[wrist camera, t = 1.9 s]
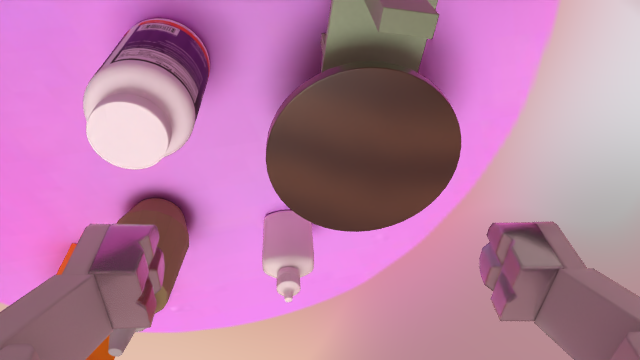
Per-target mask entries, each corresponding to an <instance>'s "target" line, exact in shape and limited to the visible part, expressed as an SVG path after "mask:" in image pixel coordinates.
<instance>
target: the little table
mask: <svg viewBox="0 0 640 360" xmlns="http://www.w3.org/2000/svg"><path fill="white" fill-rule="evenodd" d="M460 150H461V133H460V127H459V123H458V120H457V117H456V114H455V113H454V111H453V109H452V107H451V105H450V103H449V102H448V100H447V98H446V97H445V96H444V95H443V93H442V92H441V91H440V89H439V88H437V87H436V86H435V85H434V84H433V83H432V82H431V81H430V80H428V79H427V78H425V77H424V76H422V75H421V74H419V73H417V72H415V71H413V70H411V69H409V68H406V67H402V66H399V65H396V64H391V63H385V62H372V61H368V62H355V63H350V64H344V65H340V66H337V67H334V68H331V69H328V70H326V71H324V72H322V73H319V74H317V75H315V76H314V77H312V78H310V79H309V80H307V81H306V82H304V83H303V84H302V85H300V86H299V87H298V88H297V89H296V90H294V91H293V92H292V93H291V94H290V95H289V97H288V98H287V99H286V100H285V101H284V102H283V104H282V105H281V107H280V108H279V109H278V111H277V113H276V115H275V117H274V119H273V121H272V123H271V126H270V129H269V132H268V138H267V144H266V165H267V172H268V175H269V178H270V181H271V183H272V185H273V188H274V190H275V191H276V193H277V194H278V196H279V197H280V199H281V200H282V201H283V202H284V203H285V204H286V205H287V206H288V207H289V208H290V209H291V210H292V211H293V212H295V213H296V214H297V215H299V216H300V217H302V218H304V219H305V220H307V221H309V222H312V223H314V224H316V225H319V226H322V227H325V228H329V229H334V230H340V231H356V232H358V231H370V230H376V229H381V228H385V227H389V226H392V225H395V224H397V223H400V222H402V221H404V220H406V219H408V218H410V217H412V216H414V215H416V214H417V213H419V212H420V211H422V210H423V209H425V208H426V207H427V206H428V205H430V204H431V203H432V202H433V201H434V200H435V199H436V198H437V197H438V196H439V195H440V194H441V192H442V191H443V190H444V189H445V188H446V186H447V185H448V183H449V181H450V180H451V178H452V176H453V174H454V172H455V170H456V167H457V164H458V161H459V157H460Z"/></svg>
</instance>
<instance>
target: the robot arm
mask: <svg viewBox="0 0 640 360" xmlns="http://www.w3.org/2000/svg"><path fill="white" fill-rule="evenodd" d="M487 237H488V239H489V241H490V242H489V243H488V244H487V245H486V246H484V247H483V248H482V252H481V255H480V273H481V277H482V280H483V282H484V285H485V286H487V287H488V288H490V289H491V290H492V291H493V294H492V297H491V301H492V303H493V305H494V308H495V310H496V312H497V315H498V317H499V319H500V321H535V322H534V323H535V324H536V325H537V326H538V327H539V328H540V329H541V330H542V331H544V332H545V333H546V334H547V335H548V336H549V337H550V338H551V339H552V340H553V341H555V343H557V344H558V345H559V346H560V347H561V348H562V349H563V350H564V351H565V352H566V353H567V354H569V355H570V356H571V357H572V358H573V359H574V360H640V297H639V296H637V295H636V294H634V293H632V292H631V291H629V290H627V289H626V288H624V287H622V286H621V285H619V284H618V283H616V282H615V281H613V280H611V279H610V278H608V277H606V276H605V275H603V274H601V273H600V272H598V271H597V270H595V269H587V267H586V266H585V265H584V263H583V262H582V260H581V259H580V257H579V256H578V254H577V253H576V251H575V250H574V249H573V247H572V245H571V244H570V243H569V241H568V240H567V238H566V237H565V235H564V234H563V232H562V231H561V230H560V228H559V227H558V225H557V224H555V223H554V222H532V223H529V222H528V223H492V225H491V226H490V227H489V230H488V233H487ZM159 238H160V236H159V232H158V228H157V226H155V225H144V224H112V225H111V224H90V225H89V226H87V227H86V228H85V230H84V232H83V234H82V236H81V238H80V239H79V241H78V243H77V245H76V247H75V249H74V251H73V253H72V255H71V257H70V259H69V261H68V263H67V265H66V267H65V269H64V271H63V273H62V275H54V276H52V277H51V278H49V279H48V280H47V281H45V282H44V283H42V284H41V285H39V286H38V287H36V288H35V289H33V290H32V291H30V292H29V293H28V294H26V295H25V296H23V297H22V298H20V299H19V300H17V301H16V302H14V303H13V304H11V305H10V306H9V307H7V308H6V309H4V310H3V311H1V312H0V360H86V359H87V358H88V357H89V355H90V354H91V353H92V352H93V351H94V350H95V349H96V348H97V347H98V346H99V345H100V344H101V343H102V342H103V341H104V340H105V339H106V338H107V337H108V336H109V335H110V334H111V333H112V332H113V330H112V329H127V328H149V327H151V324H152V320H153V316H154V313H155V309H156V306H157V302H156V298H155V294H156V293H157V292H158V291H160V290H161V288H162V284H163V280H164V270H165V265H164V255H163V251H162V250H161V249H160V248H159V247H158V246H157V245H158V241H159Z"/></svg>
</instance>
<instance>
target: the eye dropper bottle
mask: <svg viewBox="0 0 640 360" xmlns="http://www.w3.org/2000/svg"><path fill="white" fill-rule="evenodd" d="M262 265H263V271H264V272H265V273H266V274H267V275H269V276H272V277H274V278H277V292H278V293H279V294H280V295H282V296H284V298H285V301H286V302H291V301H292V298H293V296H294V295H296V294H298V292H299V291H300V277H303V276H305V275H307V274H309V273H310V272H312V270H313V268H314V250H313V235H312V222H309V221H307V220H305V219H304V218H302V217H300V216H299V215H297V214H296V213H295V212H293V211H279V212H274V213H271V214H269V215H267V216H266V217H265V219H264V230H263V251H262Z"/></svg>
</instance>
